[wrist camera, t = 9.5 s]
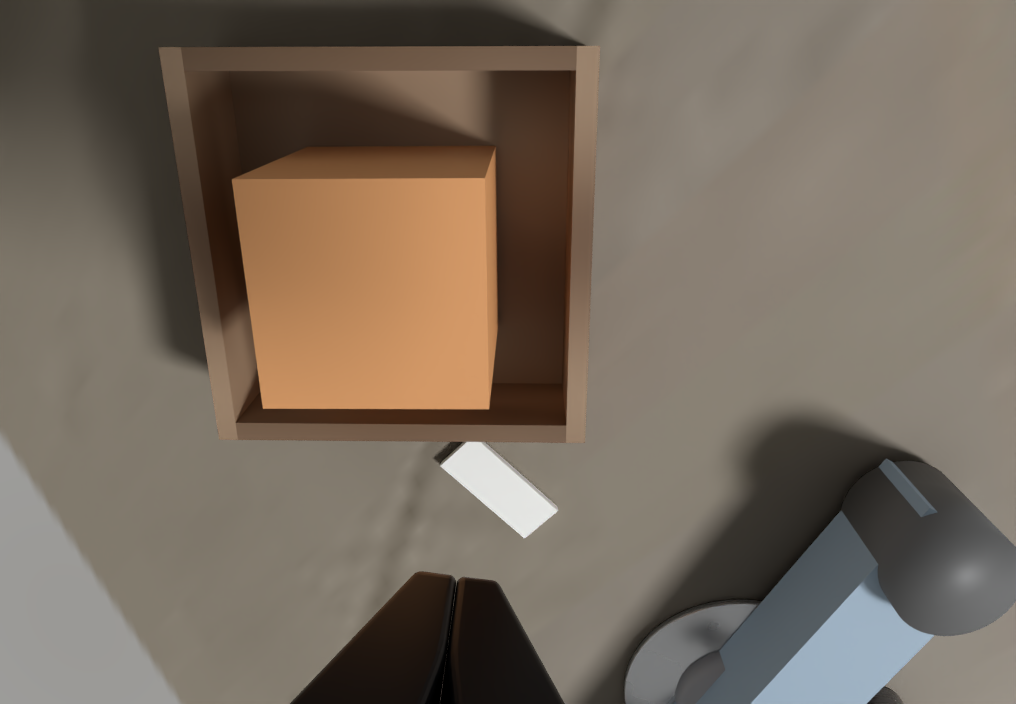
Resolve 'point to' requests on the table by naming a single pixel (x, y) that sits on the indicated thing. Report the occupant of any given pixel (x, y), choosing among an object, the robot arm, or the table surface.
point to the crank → (865, 596)
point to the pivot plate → (681, 648)
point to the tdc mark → (499, 486)
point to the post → (885, 697)
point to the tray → (402, 122)
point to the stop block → (372, 276)
